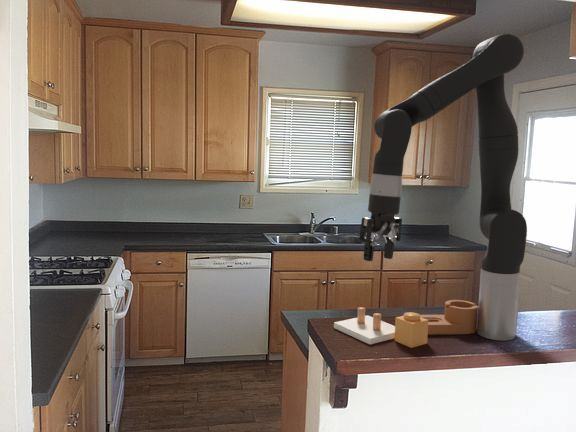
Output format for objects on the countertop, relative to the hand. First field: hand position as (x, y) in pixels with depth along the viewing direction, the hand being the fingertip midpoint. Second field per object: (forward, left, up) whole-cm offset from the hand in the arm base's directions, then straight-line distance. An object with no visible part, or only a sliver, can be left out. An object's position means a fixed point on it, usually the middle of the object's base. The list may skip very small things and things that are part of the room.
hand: (378, 259), depth 127 cm
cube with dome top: (-7, +6, -21) cm, 22 cm away
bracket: (-22, +3, -21) cm, 30 cm away
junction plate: (-3, -5, -21) cm, 21 cm away
